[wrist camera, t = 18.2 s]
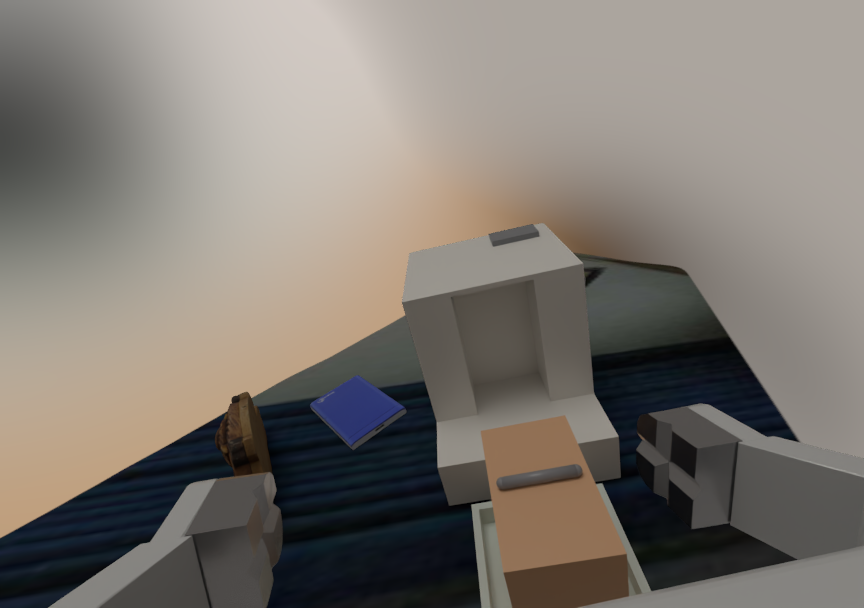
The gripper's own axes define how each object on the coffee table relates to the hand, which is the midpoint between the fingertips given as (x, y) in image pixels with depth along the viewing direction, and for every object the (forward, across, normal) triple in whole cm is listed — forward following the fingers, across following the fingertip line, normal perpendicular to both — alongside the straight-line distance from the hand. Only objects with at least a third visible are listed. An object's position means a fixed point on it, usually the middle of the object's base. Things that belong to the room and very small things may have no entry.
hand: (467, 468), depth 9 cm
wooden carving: (+38, +17, +24) cm, 48 cm away
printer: (+34, -12, +19) cm, 41 cm away
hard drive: (+45, +6, +21) cm, 50 cm away
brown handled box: (+15, -9, +22) cm, 28 cm away
